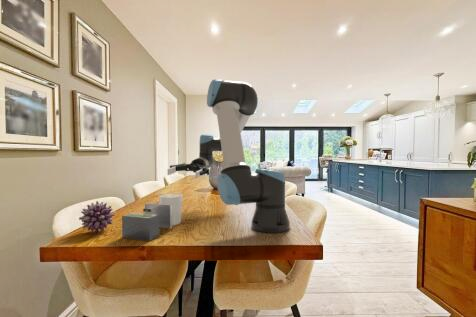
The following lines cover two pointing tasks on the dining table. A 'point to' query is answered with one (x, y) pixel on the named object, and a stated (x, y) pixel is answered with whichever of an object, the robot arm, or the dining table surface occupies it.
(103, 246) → the dining table surface
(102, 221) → the flower
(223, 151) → the robot arm
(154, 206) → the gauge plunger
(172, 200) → the white cream cup
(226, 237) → the dining table surface
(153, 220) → the box
